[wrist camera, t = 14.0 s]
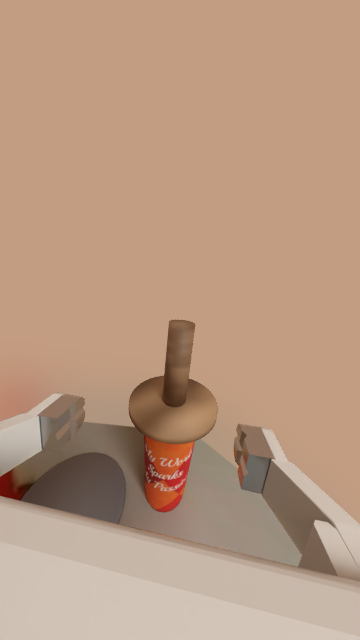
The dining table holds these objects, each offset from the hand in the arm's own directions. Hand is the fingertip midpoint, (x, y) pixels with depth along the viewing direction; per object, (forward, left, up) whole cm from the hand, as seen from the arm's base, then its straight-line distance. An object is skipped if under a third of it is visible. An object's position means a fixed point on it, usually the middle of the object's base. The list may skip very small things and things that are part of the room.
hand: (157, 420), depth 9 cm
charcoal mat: (-13, +3, -22) cm, 26 cm away
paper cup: (-4, +11, -22) cm, 25 cm away
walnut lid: (-4, +11, -8) cm, 14 cm away
